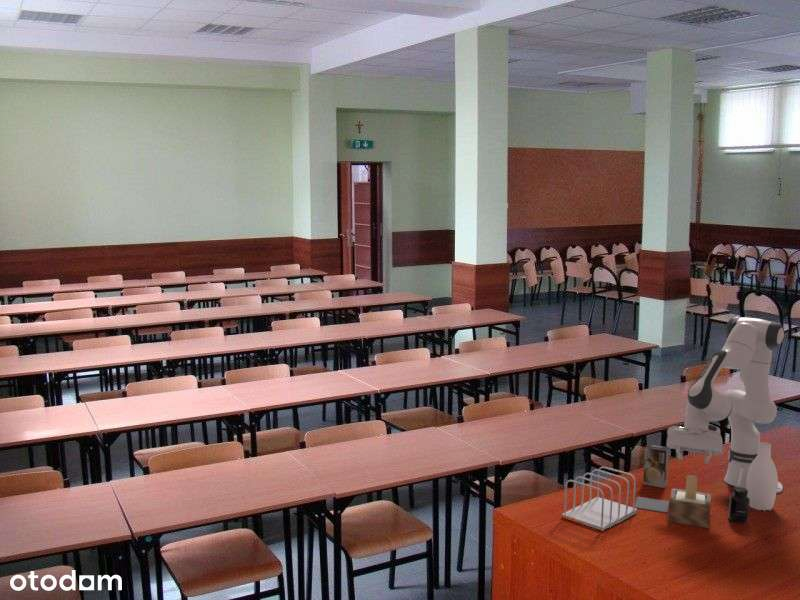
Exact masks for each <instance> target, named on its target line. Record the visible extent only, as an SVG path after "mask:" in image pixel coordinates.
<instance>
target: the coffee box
mask: <svg viewBox="0 0 800 600" xmlns="http://www.w3.org/2000/svg"><path fill="white" fill-rule="evenodd" d="M669 449H670V448H668V446H663V445H657V444H656V445H655V444H652V443H651V444H650V443H647V444H646V445H645V447H644V457H643V458H644V459H643V477H642V478H643V482H642V485H645V486H652V487H658V488H663V489H666V487H667V485H668V470H669V468H668V465H669Z"/></svg>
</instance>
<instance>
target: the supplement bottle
mask: <svg viewBox="0 0 800 600" xmlns="http://www.w3.org/2000/svg"><path fill="white" fill-rule="evenodd" d="M732 493H733V494H731V495H730V497H729V506H728V516H727V517H728V519H729V520H730V521H732V522H734V523H737V524H746V523H747V522H749V516H750V515H749V514H750V507H749V506H750V499H749V497H747V495H748V490H747V489H745V488H742V487H735V486H734V487H733V492H732Z"/></svg>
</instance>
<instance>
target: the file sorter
mask: <svg viewBox="0 0 800 600" xmlns="http://www.w3.org/2000/svg"><path fill="white" fill-rule="evenodd" d="M601 469H606V470H608V471H613V472H617V473H621V474H624V475H628V476H630V477H631V478H632V479H633V500H632V501H633V503H632V506H629V499H630V498H629V495H630V482H629V480H628V479H627V478H626V477H624V476H621V475H617V474H614V473H611V472H608V471H605V470H601ZM594 472H597V474H594ZM600 473H602V474H606V475H609V476H612V477H616V478H618V479H623V480H624V481H625V482H626V484H627V490H626V504H622V503H621V499H622V498H621V497H622V487H621V484H620V483H619V482H617V481H616V480H613V479H610V478H609V477H604V476H601V475H600ZM587 475H588V476H589V475H590V478H587V477H586V476H587ZM593 477H595V478H597V481H596V480H593ZM578 479H582V482H580V481H577V480H578ZM600 479H602V480H606V481H608V482H610V483H611V482H612V483H614V484H616V485H617V486H618V489H619V490H618V502H616V501H614V500H613V498H614V492H613V489H612V487H611V486H609V485H608V484H605V483H603V482H600ZM636 480H637V479H636V477H635V476H634V474H632V473H630V472H625V471H622V470H619V469H615V468H612V467H608V466H600V467H599V468H598V469H597V468H595V469H593V470H592V471H591V472H586V473H584V474H583V475H582V476H576V477H575V479H574V480H573V479H569V480H566V481H565V483H564V484H565V485H564V509H563V510H564V512H562V513H561V516H562V515H563V516H566V517H568V518H571V519H574V520H576V521H579V522H582V523H584V524H586V525H589V526H591V527H594V528H597V529H600V530H604V529H606V528H609V527H610V528H612V527H614V526H616V525H618V524H620V523H622V522H623V521H625V520H626V519H628V518H630V517H632V516H634V515H636V514H637V513H638V508H635V503H636V491H637V489H636V488H637V487H636V486H637V482H636ZM585 481H587V482H589V484H586V483H585ZM570 482H571V483H574V484H573V500H572V502H573V503H572V504H573V505H572V509H571V508H570V509H569V510H568V511H567V497H568V496H567V494H568V493H567V491H568V483H570ZM593 483H594V484H597V487H596V486H593ZM577 484H578V485H581V486H582V487H581V501H580V502H581V504H580V505H578V506H576V490H577ZM600 485H601V486H604V487H606V488H607V489H609V491H610V500H609V499H606V498H605V494H604V492H603V490H602V489H601V488H600ZM585 486H586V487H588V488H589V500H588V501H586V502H584V495H585V494H584V493H585V492H584V491H585ZM592 489H594V490H596V491H597V493H596V496H595V497H593V498H592ZM600 493H601V497H600ZM617 523H618V524H617ZM615 524H616V525H615ZM613 525H614V526H613ZM611 526H612V527H611ZM610 528H609V529H610Z"/></svg>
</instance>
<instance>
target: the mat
mask: <svg viewBox="0 0 800 600" xmlns="http://www.w3.org/2000/svg"><path fill="white" fill-rule="evenodd" d="M669 501H670V500H669ZM669 501H668V500H663V499H655V498H650V497H645V496H644V497H642V496H637V498H636V499H635V508H636V509H637V510H638V509H639V510H644V511H650V512H651V511H652V512H657V513H662V514H668V512H669Z"/></svg>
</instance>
